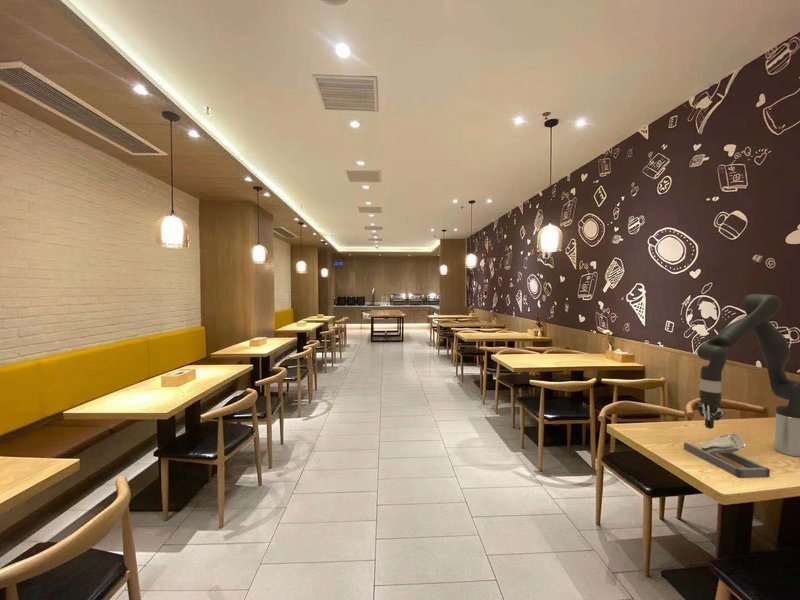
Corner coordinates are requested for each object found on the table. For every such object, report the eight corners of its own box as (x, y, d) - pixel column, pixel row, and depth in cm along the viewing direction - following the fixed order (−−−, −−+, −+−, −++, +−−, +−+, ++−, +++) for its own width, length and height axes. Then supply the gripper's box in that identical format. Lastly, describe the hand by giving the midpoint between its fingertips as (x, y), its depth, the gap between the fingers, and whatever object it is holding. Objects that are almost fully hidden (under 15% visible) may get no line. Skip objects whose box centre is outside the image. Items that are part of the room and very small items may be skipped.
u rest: (709, 448, 169) (710, 441, 169) (769, 476, 143) (769, 469, 143) (683, 448, 168) (683, 442, 168) (739, 477, 142) (739, 470, 142)
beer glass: (706, 458, 160) (736, 451, 148) (696, 441, 164) (724, 434, 152) (718, 455, 162) (749, 448, 149) (708, 439, 165) (737, 431, 153)
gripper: (732, 393, 155) (731, 433, 156) (705, 385, 168) (703, 422, 169) (716, 394, 155) (714, 434, 155) (689, 385, 168) (688, 422, 169)
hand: (709, 427), depth 162 cm, fingers closed
